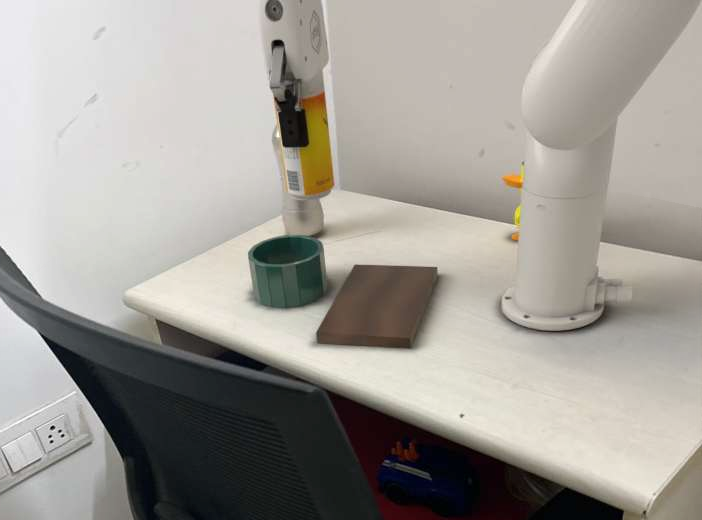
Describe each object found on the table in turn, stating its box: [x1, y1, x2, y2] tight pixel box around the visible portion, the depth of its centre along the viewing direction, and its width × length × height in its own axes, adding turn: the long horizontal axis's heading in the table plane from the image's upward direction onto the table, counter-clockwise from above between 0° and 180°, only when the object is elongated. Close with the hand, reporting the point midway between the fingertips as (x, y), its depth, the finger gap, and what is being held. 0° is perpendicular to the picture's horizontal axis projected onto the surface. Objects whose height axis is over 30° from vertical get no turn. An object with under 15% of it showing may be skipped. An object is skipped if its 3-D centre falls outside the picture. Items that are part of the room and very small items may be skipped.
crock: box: [247, 234, 329, 309], centre depth 108 cm, size 10×10×6 cm
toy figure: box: [501, 160, 524, 241], centre depth 112 cm, size 7×4×12 cm, turn 46°
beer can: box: [272, 67, 335, 201], centre depth 93 cm, size 6×6×15 cm
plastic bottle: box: [271, 123, 325, 237], centre depth 118 cm, size 6×7×20 cm
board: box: [315, 264, 439, 349], centre depth 103 cm, size 12×20×2 cm, turn 164°
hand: (304, 136), depth 94 cm, fingers closed on beer can, 6 cm apart
